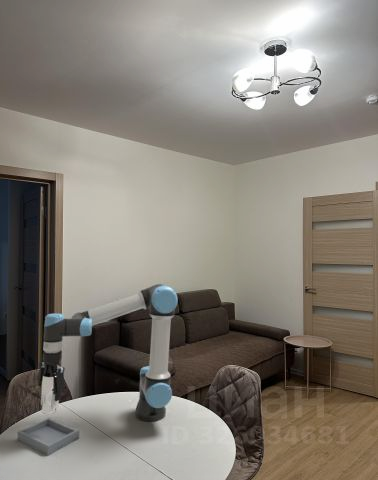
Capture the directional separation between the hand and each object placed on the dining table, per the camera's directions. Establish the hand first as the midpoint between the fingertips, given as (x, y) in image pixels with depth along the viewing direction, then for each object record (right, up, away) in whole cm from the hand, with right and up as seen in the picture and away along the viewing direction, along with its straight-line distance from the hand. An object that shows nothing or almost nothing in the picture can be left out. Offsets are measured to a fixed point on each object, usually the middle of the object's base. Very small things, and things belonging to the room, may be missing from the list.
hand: (49, 406), depth 146 cm
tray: (0, -14, -1) cm, 14 cm away
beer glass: (0, -2, 0) cm, 2 cm away
